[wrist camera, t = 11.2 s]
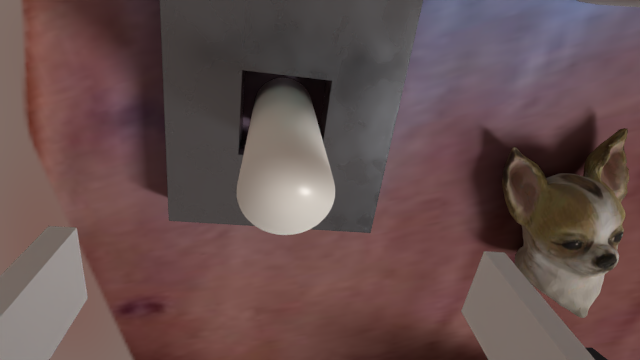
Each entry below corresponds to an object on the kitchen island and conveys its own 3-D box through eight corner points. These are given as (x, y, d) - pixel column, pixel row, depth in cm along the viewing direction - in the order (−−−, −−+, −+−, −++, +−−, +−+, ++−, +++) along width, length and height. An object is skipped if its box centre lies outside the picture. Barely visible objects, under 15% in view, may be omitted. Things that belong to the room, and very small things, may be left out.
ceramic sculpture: (534, 344, 32) (551, 176, 26) (483, 278, 40) (487, 138, 34) (660, 320, 32) (706, 150, 26) (584, 259, 40) (606, 118, 34)
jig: (363, 213, 35) (370, 232, 32) (178, 201, 33) (168, 220, 30) (410, -8, 27) (424, -7, 24) (170, -44, 25) (157, -47, 22)
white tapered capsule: (308, 136, 31) (327, 237, 19) (252, 131, 31) (234, 232, 18) (315, 81, 29) (342, 153, 17) (256, 74, 29) (238, 143, 16)
